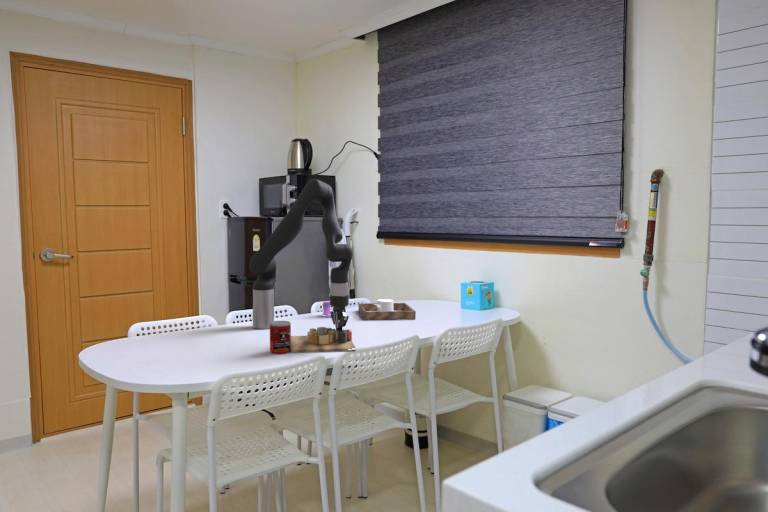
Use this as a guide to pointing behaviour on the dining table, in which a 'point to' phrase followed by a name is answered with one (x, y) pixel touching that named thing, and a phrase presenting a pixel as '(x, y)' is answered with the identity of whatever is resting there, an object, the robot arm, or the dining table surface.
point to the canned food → (280, 337)
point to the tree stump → (385, 305)
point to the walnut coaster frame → (386, 312)
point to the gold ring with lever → (327, 336)
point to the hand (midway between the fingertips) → (339, 336)
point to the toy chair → (326, 307)
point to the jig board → (303, 346)
